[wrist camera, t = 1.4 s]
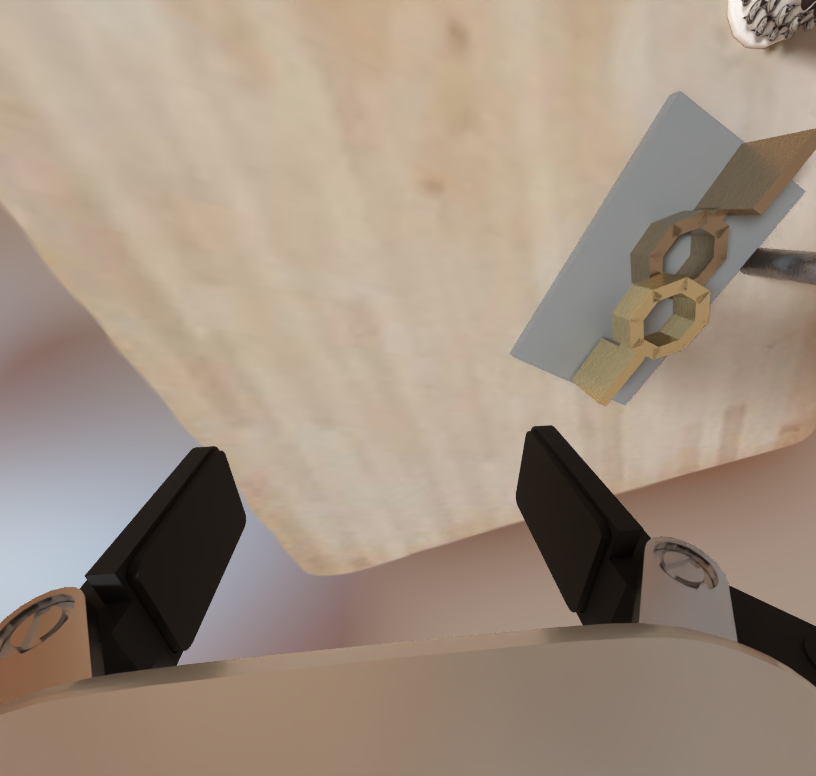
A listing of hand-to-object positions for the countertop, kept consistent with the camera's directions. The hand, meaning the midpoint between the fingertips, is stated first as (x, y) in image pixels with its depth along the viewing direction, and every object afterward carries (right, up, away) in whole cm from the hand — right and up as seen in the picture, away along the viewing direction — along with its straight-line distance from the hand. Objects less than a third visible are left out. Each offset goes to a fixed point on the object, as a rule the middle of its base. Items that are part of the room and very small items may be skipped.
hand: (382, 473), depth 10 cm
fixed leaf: (+30, +20, +23) cm, 43 cm away
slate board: (+27, +15, +27) cm, 41 cm away
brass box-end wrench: (+25, +9, +28) cm, 38 cm away
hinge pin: (+40, +17, +27) cm, 51 cm away
